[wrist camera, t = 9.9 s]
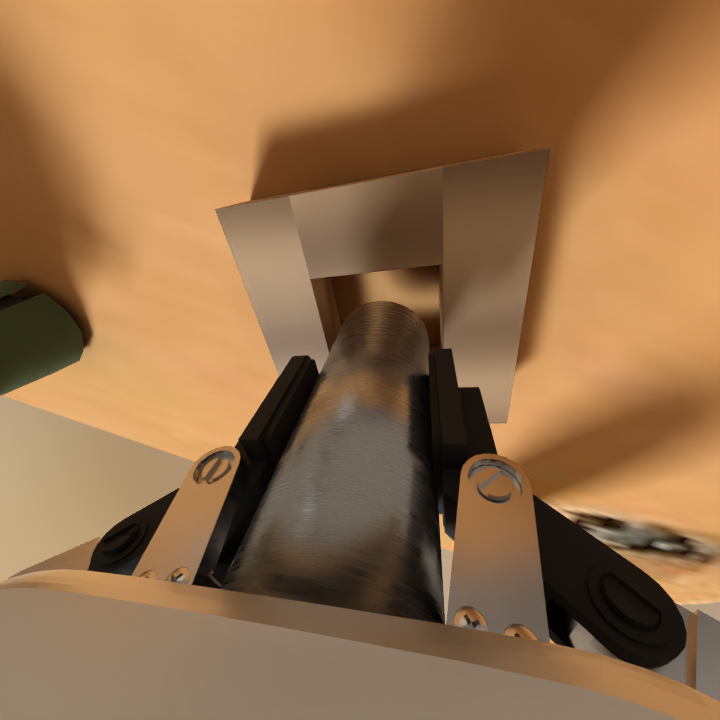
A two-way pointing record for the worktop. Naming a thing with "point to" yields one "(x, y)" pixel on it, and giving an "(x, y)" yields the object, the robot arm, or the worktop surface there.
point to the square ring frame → (401, 258)
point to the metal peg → (356, 482)
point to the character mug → (34, 338)
